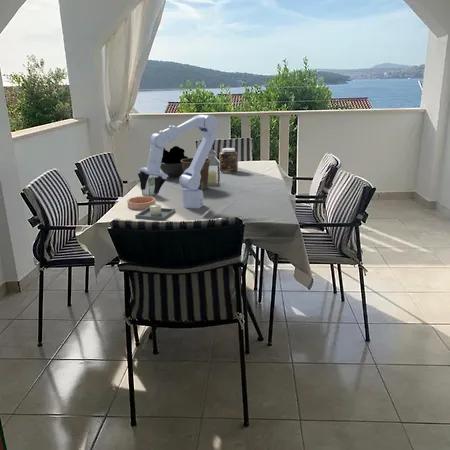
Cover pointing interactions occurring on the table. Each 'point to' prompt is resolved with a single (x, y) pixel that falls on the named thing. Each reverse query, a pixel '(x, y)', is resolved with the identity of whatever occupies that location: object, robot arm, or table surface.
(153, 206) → the cream cup
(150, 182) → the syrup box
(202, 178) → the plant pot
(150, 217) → the tray
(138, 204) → the bowl
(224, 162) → the jar
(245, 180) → the table surface
